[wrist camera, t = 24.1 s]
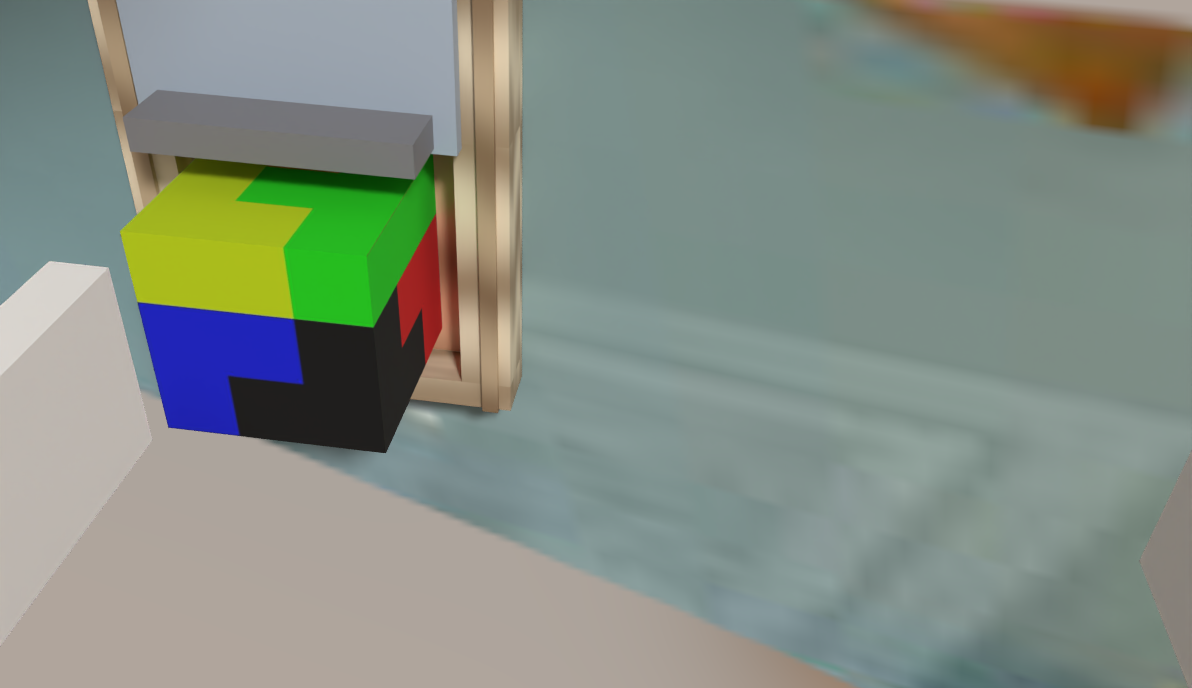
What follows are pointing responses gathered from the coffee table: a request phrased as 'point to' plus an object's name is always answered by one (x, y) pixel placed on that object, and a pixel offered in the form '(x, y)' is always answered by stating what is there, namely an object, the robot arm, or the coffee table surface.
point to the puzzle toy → (288, 299)
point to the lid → (296, 82)
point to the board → (463, 202)
